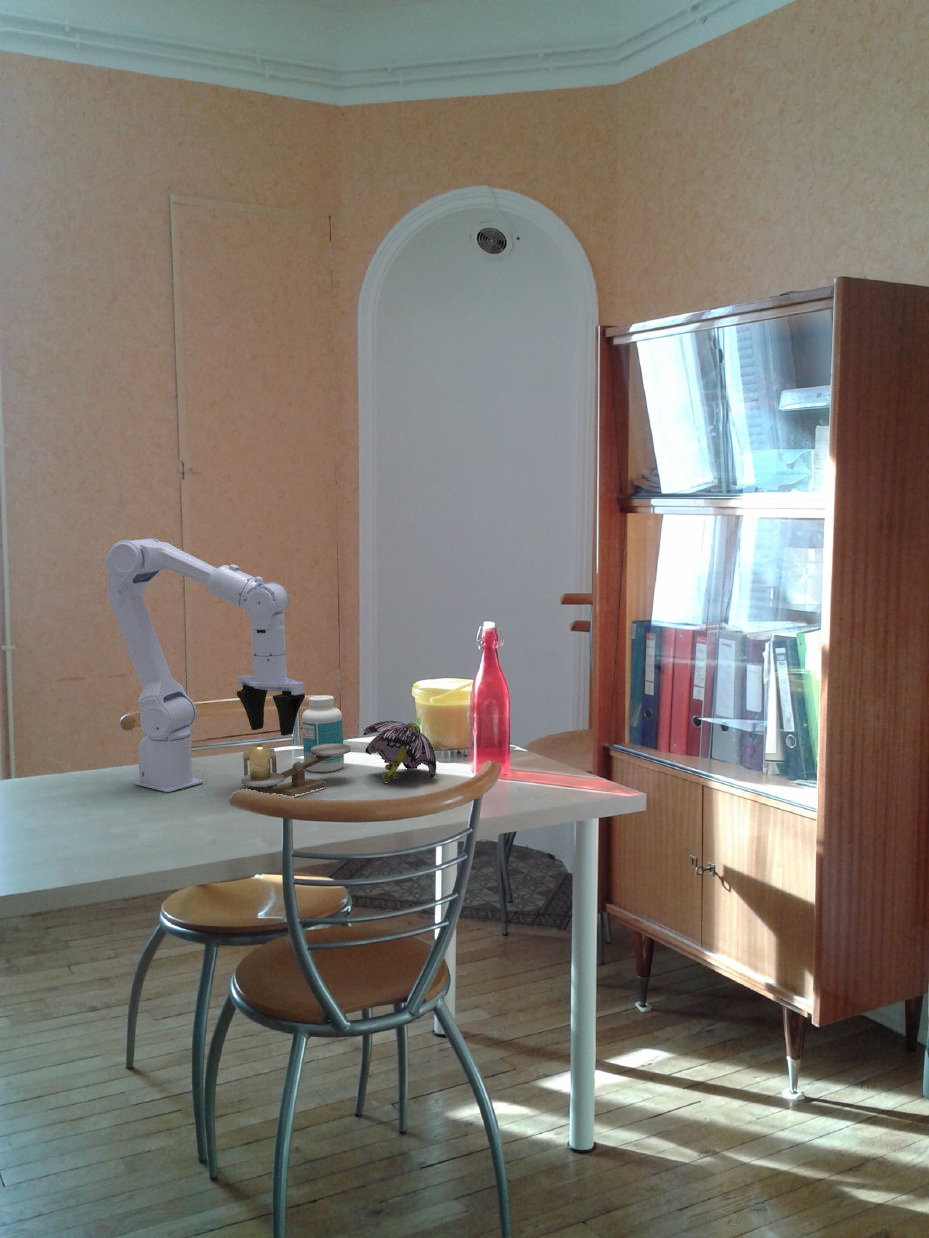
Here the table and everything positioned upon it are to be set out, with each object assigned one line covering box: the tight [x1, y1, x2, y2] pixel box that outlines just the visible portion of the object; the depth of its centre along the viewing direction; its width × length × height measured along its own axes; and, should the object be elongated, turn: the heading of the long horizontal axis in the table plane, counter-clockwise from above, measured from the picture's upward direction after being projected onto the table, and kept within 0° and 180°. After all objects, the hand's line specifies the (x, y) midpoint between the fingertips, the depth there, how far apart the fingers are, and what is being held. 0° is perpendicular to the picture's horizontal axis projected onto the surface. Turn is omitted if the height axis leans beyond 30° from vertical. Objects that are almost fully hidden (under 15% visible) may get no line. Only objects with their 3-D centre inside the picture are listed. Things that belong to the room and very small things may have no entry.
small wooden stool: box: [242, 747, 278, 789], centre depth 195 cm, size 5×5×6 cm
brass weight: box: [248, 743, 272, 781], centre depth 186 cm, size 3×3×5 cm
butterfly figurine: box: [362, 720, 437, 783], centre depth 200 cm, size 15×12×15 cm
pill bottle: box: [301, 695, 345, 773], centre depth 208 cm, size 8×7×14 cm
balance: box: [240, 743, 351, 796], centre depth 193 cm, size 7×23×6 cm, turn 142°
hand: (272, 731), depth 193 cm, fingers open, 7 cm apart
